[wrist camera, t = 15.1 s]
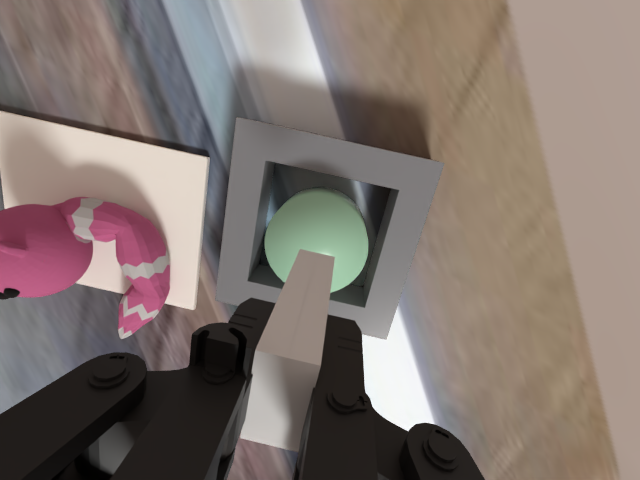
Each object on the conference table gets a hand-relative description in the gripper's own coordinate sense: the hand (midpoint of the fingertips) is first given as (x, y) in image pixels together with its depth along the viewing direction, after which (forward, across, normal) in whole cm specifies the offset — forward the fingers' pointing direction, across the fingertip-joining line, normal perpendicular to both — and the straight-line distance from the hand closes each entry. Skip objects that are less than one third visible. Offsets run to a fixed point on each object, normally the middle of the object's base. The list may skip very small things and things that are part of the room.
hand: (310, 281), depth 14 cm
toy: (+9, -16, -6) cm, 20 cm away
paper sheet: (+9, -16, -3) cm, 19 cm away
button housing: (+10, 0, 0) cm, 10 cm away
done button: (+8, 0, 0) cm, 8 cm away
